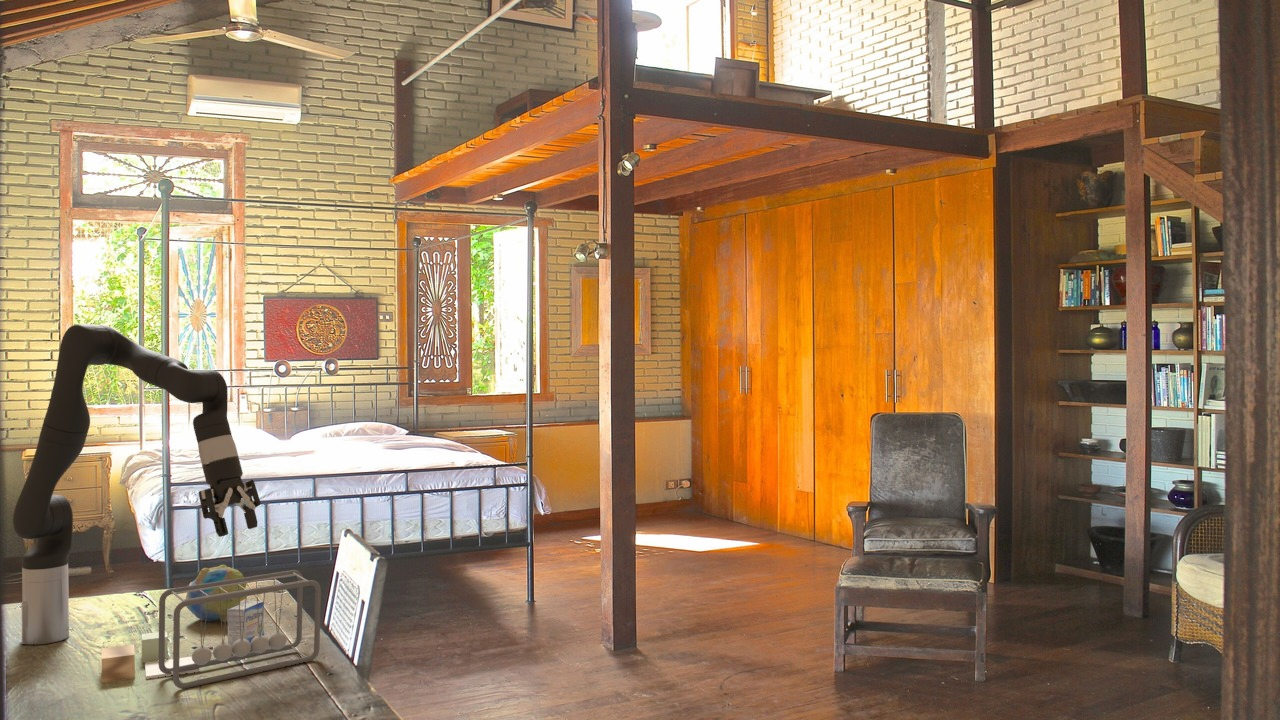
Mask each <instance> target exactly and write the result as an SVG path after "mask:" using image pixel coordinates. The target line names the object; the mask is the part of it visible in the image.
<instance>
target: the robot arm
mask: <svg viewBox="0 0 1280 720" xmlns="http://www.w3.org/2000/svg"><path fill="white" fill-rule="evenodd" d="M60 341H61V342H60V345H59V346H60V347H59V350H58V351H59V352H58V358H57V362H56V364H57V365H56V370H55V375H54V376H55V377H54V382H53V385H52V386H53V387H52V389H51V394H50V399H49V401H48V402H49V403H48V406H47V409H46V412H45V416H44V419H43V422H42V425H41V430H40V433H39V437H38V442H37V445H36V449H35V452H34V455H33V459H32V462H31V465H30V468H29V472H28V474H27V477H26V480H25V482H24V484H23V487H22V490H21V491H20V494H19V497H18V498H17V502H16V505H15V507H14V510H13V514H12V525H13V530H14V532H15V533H16V534H17V536H18V537H19V538H21V539H24V540H25V539H26V540H33V539H37V540H36V543H35V545H33V547H31V548H30V549H29V550H28V551H27V552H26V553H24V554H23V556H22V557H21V574H22V576H21V577H22V578H21V579H22V580H21V581H22V585H21V586H22V593H21V594H22V601H21V606H20V607H21V645H22V644H25V645H33V644H34V645H45V644H53V643H57V642H61V641H64V640H66V639H68V638H69V637H70V622H69V621H70V619H69V618H70V613H69V612H70V609H69V608H70V607H69V599H70V598H69V594H70V593H69V556H70V554H71V551H72V546H73V527H74V525H73V524H74V515H73V508H72V506H71V503H70V502H69V499H67V498H66V497H65V496H63V495H61V494H54V491H55V489H56V486H57V485H58V482H59V481H60V479H61V478H62V477H63V475H64V474H66V472H67V471H68V469H70V467H71V466H72V464H74V463H75V461H76V460H77V459H78V457H79V455H81V452H82V451H83V449H84V447H85V443H86V440H87V436H88V433H89V428H90V425H91V417H90V411H89V408H88V405H87V402H86V400H85V396H84V391H83V386H84V381H85V376H86V373H87V369H88V367H89V366H103V365H111V366H112V365H113V366H117V367H123V368H126V369H128V370H130V371H131V372H132V373H133V374H134V375H135V376H136V377H137V378H138V379H140V380H141V381H143V382H144V383H147V384H149V385H152V386H154V387H157V388H160V389H162V390H166V392H167V393H168V394H170V395H171V396H173V397H174V398H175V399H177V400H179V401H182V402H184V403H188V404H200V403H202V410H201V411H202V413H200V414H197V415H196V416H195V417H194V418H193V421H192V424H193V425H192V426H193V431H194V434H195V438H196V441H197V446H198V454H199V455H198V456H199V459H200V464H201V467H202V471H203V476H204V479H205V483H206V485H209V488H205V489H203V490H199V491H198V497H199V502H200V507H201V512H202V517H203V518H204V519H205V520H206V519H209V520H210V519H211V520H212V522H213V525H214V529H215V533H216V534H217V536H218V537H219V538H220V537H224V536H225V537H226V536H227V535H229V530H228V527H227V522H226V518H225V517H224V514H225V511H226V509H227V508H228V506H232V505H235V506H236V507H239V508H240V509H241V510H242V511H243V515H244V520H245V523H246V527H247V529H248V530H251V529H255V528H257V527H258V519H257V515H256V511H255V510H256V508H257V507H259V506H261V504H262V503H261V499H260V497H259V493H258V491H257V486H256V483H255V481H254V480H253V479H250V480H246V481H243V480H242V476H243V475H244V473H243V468H242V465H241V461H240V457H239V453H238V450H237V444H236V443H235V440H234V438H233V436H232V431H231V428H230V423H229V419H228V397H229V395H228V393H229V392H228V391H229V390H228V385H227V381H226V380H225V378H224V377H223V375H222V374H221V373H220V372H219V371H217V370H215V369H214V370H213V369H205V370H203V369H202V370H201V369H200V370H199V369H198V370H193V369H192V370H191V369H189V368H188V366H187V365H186V364H185V363H184V362H182V361H181V360H178V359H176V358H173V357H170V356H168V355H165V354H163V353H160V352H158V351H156V350H155V351H154V350H152V349H151V348H150V349H149V348H147V347H145V346H143V345H142V344H139V343H137V342H136V341H134V340H132V339H130V338H129V337H127V336H126V335H124V334H123V333H121V332H119V331H117V330H116V329H115V328H112V327H110V326H108V325H104V324H91V323H90V324H89V323H88V324H85V323H78V324H73V325H71V326H70V327H68V328H67V330H66V331H65V333H63V336H62V339H61V340H60Z"/></svg>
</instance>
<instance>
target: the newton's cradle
mask: <svg viewBox="0 0 1280 720" xmlns="http://www.w3.org/2000/svg"><path fill="white" fill-rule="evenodd" d="M295 576H296V578H297V581H291V582H286V583H283V582H280V581H279V580H277V579H283V578H284V579H285V578H290V577H295ZM243 577H244V576H243ZM271 580H273V585H267V586H265V585H263V584H261V583H259V582H263V581H271ZM275 581H277V582H278V583H279V584H276V582H275ZM246 583H247V584H250V583H252V584H253V583H255V587H253V588H250V589H249V588H248V589H246V587H245V588H244V589H245V590H241V591H239V586H240V585H239V584H246ZM247 584H246V585H247ZM258 584H260V585H261V586H260V587H258ZM233 585H238V591H234V592H228V593H222V594H216V595H209V596H208V595H207V594H206V595H207V596H203V597H201V590H207V589H214V588H219V593H220V587H226V586H233ZM311 586H312V587H314V589H315V591H314V594H315V596H314V630H313V631H314V638H313V639H314V640H313V652H312V653H311V654H310V655H308V656H307V655H305V654H304V653H303V652H301V651H300V650H299V649H297V647H298V646H299V645H300V643H301V642H302V638H303V601H304V600H303V597H304V596H303V595H304V594H303V593H304V592H303V591H304V589H303V588H305V587H311ZM241 587H242V586H241ZM242 588H243V587H242ZM221 589H222V588H221ZM293 589H297V591H296V592H297V595H296V596H297V597H296V599H297V600H296V601H297V602H296V609H297V610H296V636H295V637H296V639H295V641H294V642H292V643H290V644H287V642H288V641H287V640H288V639H287V636H286V634H285V633H284V632H282V631H280V626H278V625H280V623H281V616H279V618H278V616H277V615H278V614H275V623H276V624H275V625H276V629H275V630H276V632H273V633H271V634H270V635H269V637H267V636H265V635H264V636H263V635H261V632H259V635H258V636H256V637H254V638H253V639H252V641H251V643H250V642H249V641H248V640H246V639H243V633H242V638H240V639H239V640H237V641H235V642H234V644H233V646H232V647H231V645H230V644H228V642H225V636H226V635H225V634H226V626H227V625H226V624H227V623H226V617H225V623H224V630H223V621H222V616H221V621H220V629H221V634H223V635H221V642H219V643H217V644H216V645H215V646H214V648H213V650H212V651H211V649H210V648H209V647H208V646H204V643H205V635H206V633H205V632H206V626H207V621H206V620H205V621H204V630H203V629H202V626H203V625H202V624H203V623H202V621H203V620H202V619H200V646H198V647H196V648H195V649H194V650H193V651H192V654H191V657H192V660H193V662H194V664H189V665H184V666H179V658H180V650H181V649H180V646H181V645H180V644H181V643H180V638H181V637H180V636H181V634H180V632H181V628H180V627H181V611H182V610H183V609H184V608H186V606H190V605H196V604H200V610H201V604H202V603H207V610H208V602H214V601H220V613H221V600H226V599H227V603H228V599H232V598H238V597H244V596H246V599H244V600H245V601H244V603H245V609H246V602H247V598H248V597H250V596H255V595H256V601H257V609H258V601H259V599H258V597H259V596H258V595H261V594H263V601H262V602H263V609H264V608H265V597H266V594H267V593H273V592H274V594H276V592H280V591H281V595H283V593H284V591H287V590H293ZM321 589H322V588H321V585H320V583H319V582H318V581H316V580H313V579H311V580H310V579H309V580H308V579H306V578H304V577H303V574H302V573H301V572H300V571H299V570H296V569H292V570H286V571H279V572H278V571H277V572H272V573H266V574H259V575H257V574H256V575H252V576H245V577H244V578H238V579H231V580H225V581H218V582H212V583H205V584H198V585H192V586H189V585H187V586H179V587H172V588H169V589H166V590H165V591H164V592H162V593H161V595H160V596H159V602H158V608H159V609H158V632H159V661H158V665H159V669H160V671H161V672H163V673H165V674H173V676H172V681H173V684H174V685H175V687H176V688H178V689H189V688H193V687H199V686H203V685H208V684H211V683H217V682H222V681H227V680H230V679H231V680H232V679H235V678H236V679H237V678H240V677H245V676H249V675H250V676H251V675H253V674H258V673H259V674H260V673H263V671H264V672H268V671H273V670H277V668H278V669H282V668H287V667H292V666H295V664H296V665H300V664H299V663H301V664H304V663H303V662H305V663H309V661H310V662H312V661H314V660H315V659H317V657H318V656H319V653H320V650H321V649H320V643H321V641H320V640H321V639H320V637H321V605H322V603H321V602H322V601H321V597H322V595H321V594H322V591H321ZM222 590H223V589H222ZM194 591H200V597H197V598H191V599H186V598H185V599H184V598H182V597H181V596H180V595H181V594H187V593H188V592H194ZM224 591H225V590H224ZM202 592H203V591H202ZM225 592H226V591H225ZM203 593H204V592H203ZM204 594H205V593H204ZM170 595H173V596H175V597H176V598H178V599H179V600H180V601H181V602H179V603H178V604H177V605H176V606H175V608H174V610H173V638H172V639H173V641H172V642H173V643H172V644H173V648H172V649H173V650H172V654H173V655H172V659H173V668H166V667H165V631H166V600H167V598H168V597H169V596H170ZM276 599H277V598H276V596H274V605H275V606H274V607H275V609H274V610H275V612H277V604H276V603H277V601H276ZM280 599H281V600H280V605H282V604H283V601H282V600H283V596H281V597H280ZM240 604H241V601H239V617H240ZM264 610H265V609H264ZM281 613H282V606H280V610H279V615H282V614H281ZM226 615H227V605H226ZM206 619H207V611H206ZM262 619H263V611H262ZM244 620H245V611H244ZM258 628H259V613H258ZM243 630H244V622H243ZM261 630H262V622H261ZM240 636H241V620H240ZM288 650H289V651H290V650H294V651H295V652H296V653H298V654H300V655H301V656H302V657H299V658H294V659H291V660H284V661H279V662H276V663H271V664H265V665H261V666H258V667H252V668H247V669H243V670H238V671H233V672H229V673H224V674H219V675H216V676H211V677H210V676H209V677H205V678H200V679H196V680H191V681H186V682H184V681H183V680H182V679H181V678H180V675H179V672H182V671H187V670H192V669H197V668H199V669H201V668H206V667H210V666H215V665H221V664H225V663H230V662H235V661H240V660H245V659H249V658H254V657H255V658H256V657H259V656H264V655H265V656H266V655H269V654H274V653H279V652H284V651H288ZM232 654H233V655H232ZM212 655H213V657H214V659H212ZM291 665H292V666H291ZM286 666H287V667H286Z"/></svg>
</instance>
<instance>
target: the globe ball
mask: <svg viewBox="0 0 1280 720" xmlns="http://www.w3.org/2000/svg"><path fill="white" fill-rule="evenodd" d="M238 578H244V575H243V573H242V572H240V571H239V570H238V569H236V568H233V567H230V566H227V564H220V565H219V566H213V567H209V568H208V567H203V568H201V569H200V571H199V574H197V577H196V578H195V579H194V580H193V581H190V583H189V584H188V586H192V585H198V584H205V583H212V582H218V581H225V580H231V579H238ZM239 585H240V586H239V591H241V590H245V589H246V587H247V585H248V583H246V584H239ZM241 586H242V587H243V588H242V587H241ZM221 588H222V589H223V590H222V589H221ZM244 588H245V589H244ZM224 590H225V591H226V592H225V591H224ZM202 591H203V592H204V593H205V594H204V593H203V592H202ZM234 591H238V585H233V586H226V587H220V593H219V588H214V589H207V590H201V597H203V596H207V595H208V596H209V595H216V594H222V593H228V592H234ZM206 594H207V595H206ZM197 597H200V591H194V592H188V593H186V596H185V599H191V598H197ZM244 600H247V598H246V596H244V597H238V598H232V599H228V603H227V599H226V600H221V613H220V601H214V602H208V610H207V603H202V604H201V610H200V604H196V605H190V606H185V608H186V609H188V610H189V612H190V613H191V614H193V615H194V616H195V617H196V618H197V619H199V620H201V619H202V621H204V622H205V620H206V622H217V621H218V620H219V621H220V622H221V616H222V623H224V624H225V617H226V622H227V623H228V620H227V615H226V605H227V610H228V609H231V608H233V607H235V606H238V605H239V601H240V602H241V601H244ZM206 611H207V619H206Z"/></svg>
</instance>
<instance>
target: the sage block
mask: <svg viewBox="0 0 1280 720" xmlns="http://www.w3.org/2000/svg"><path fill="white" fill-rule="evenodd" d="M168 640H169V639H168V631H166V630H165V659H168V660H169V657H168V656H169V652H168V651H169V650H168V649H169V648H168V647H169V645H168V642H169V641H168ZM158 660H159V631H157V632H149V633H142V634H141V664H142V663H144V664H145V663H147V662H154V661H158Z"/></svg>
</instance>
